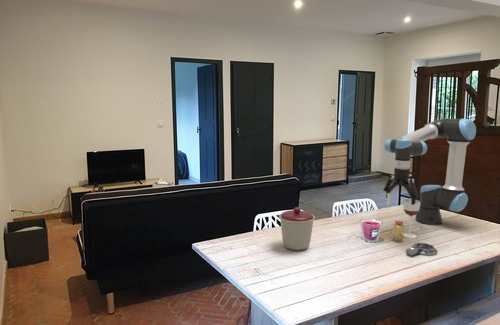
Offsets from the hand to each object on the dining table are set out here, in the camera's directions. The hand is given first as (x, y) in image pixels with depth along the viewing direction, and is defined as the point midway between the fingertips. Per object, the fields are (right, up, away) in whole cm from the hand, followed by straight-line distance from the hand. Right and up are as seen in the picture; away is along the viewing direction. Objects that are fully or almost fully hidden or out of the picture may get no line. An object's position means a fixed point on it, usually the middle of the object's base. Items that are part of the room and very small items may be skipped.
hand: (399, 207), depth 196 cm
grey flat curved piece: (+5, -21, -13) cm, 25 cm away
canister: (-56, -20, -5) cm, 60 cm away
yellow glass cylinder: (0, -18, +3) cm, 19 cm away
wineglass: (+10, -17, +11) cm, 23 cm away
